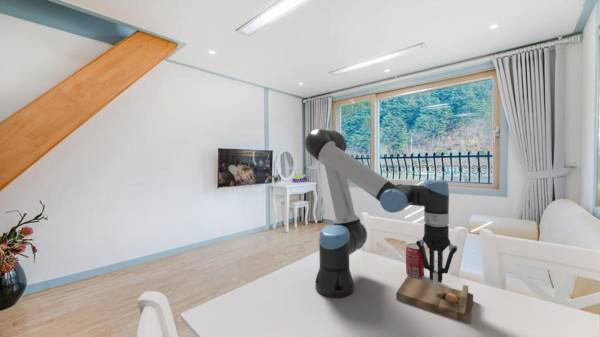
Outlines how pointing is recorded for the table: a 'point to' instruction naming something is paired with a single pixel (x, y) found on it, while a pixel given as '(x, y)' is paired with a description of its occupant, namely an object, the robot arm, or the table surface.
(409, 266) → the soda can
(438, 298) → the wooden board
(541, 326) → the table surface
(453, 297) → the ball
